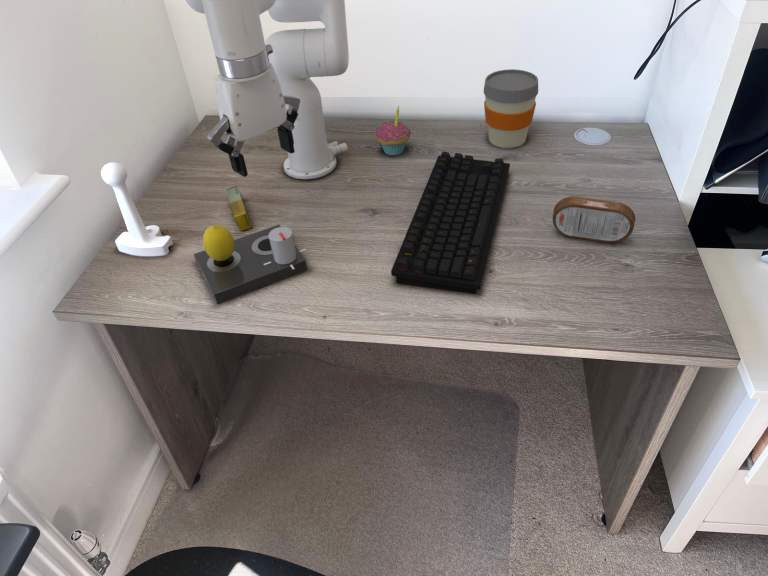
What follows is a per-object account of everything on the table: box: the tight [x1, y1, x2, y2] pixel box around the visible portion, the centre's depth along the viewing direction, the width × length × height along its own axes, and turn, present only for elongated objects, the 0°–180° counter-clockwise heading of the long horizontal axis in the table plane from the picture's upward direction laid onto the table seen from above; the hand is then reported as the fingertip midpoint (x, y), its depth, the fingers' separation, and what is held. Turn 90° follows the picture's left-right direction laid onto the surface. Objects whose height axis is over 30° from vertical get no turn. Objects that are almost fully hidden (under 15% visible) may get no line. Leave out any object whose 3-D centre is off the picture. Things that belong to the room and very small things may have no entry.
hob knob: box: [268, 226, 297, 264], centre depth 116 cm, size 4×4×6 cm
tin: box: [552, 195, 636, 244], centre depth 118 cm, size 15×3×8 cm, turn 71°
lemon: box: [202, 224, 235, 261], centre depth 116 cm, size 6×6×8 cm
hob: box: [193, 224, 308, 305], centre depth 119 cm, size 19×15×3 cm
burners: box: [207, 235, 272, 272], centre depth 120 cm, size 15×6×1 cm, turn 118°
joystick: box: [100, 161, 174, 257], centre depth 122 cm, size 11×8×20 cm
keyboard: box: [390, 151, 511, 295], centre depth 125 cm, size 42×16×5 cm, turn 165°
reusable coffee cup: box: [483, 68, 539, 149], centre depth 147 cm, size 13×13×15 cm
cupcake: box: [374, 105, 412, 156], centre depth 147 cm, size 9×8×12 cm
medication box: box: [226, 185, 253, 232], centre depth 132 cm, size 12×3×4 cm, turn 19°
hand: (265, 161), depth 105 cm, fingers open, 9 cm apart
